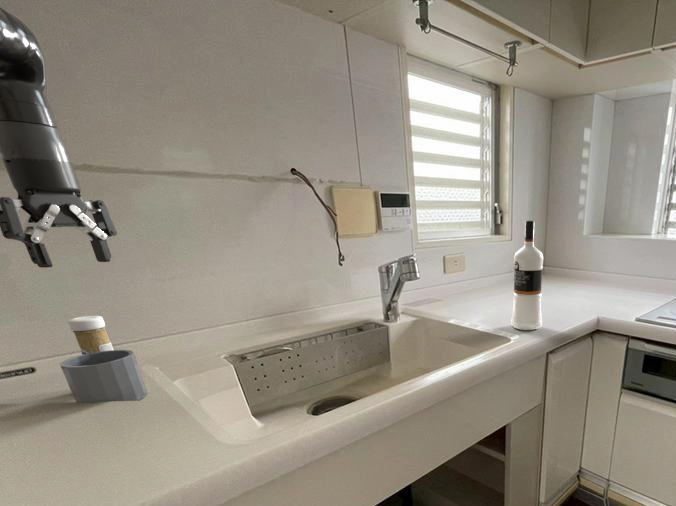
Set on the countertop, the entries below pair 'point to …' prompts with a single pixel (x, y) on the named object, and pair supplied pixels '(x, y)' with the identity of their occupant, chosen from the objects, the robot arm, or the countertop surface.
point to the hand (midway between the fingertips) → (76, 264)
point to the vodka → (527, 283)
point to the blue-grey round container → (104, 377)
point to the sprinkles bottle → (91, 334)
